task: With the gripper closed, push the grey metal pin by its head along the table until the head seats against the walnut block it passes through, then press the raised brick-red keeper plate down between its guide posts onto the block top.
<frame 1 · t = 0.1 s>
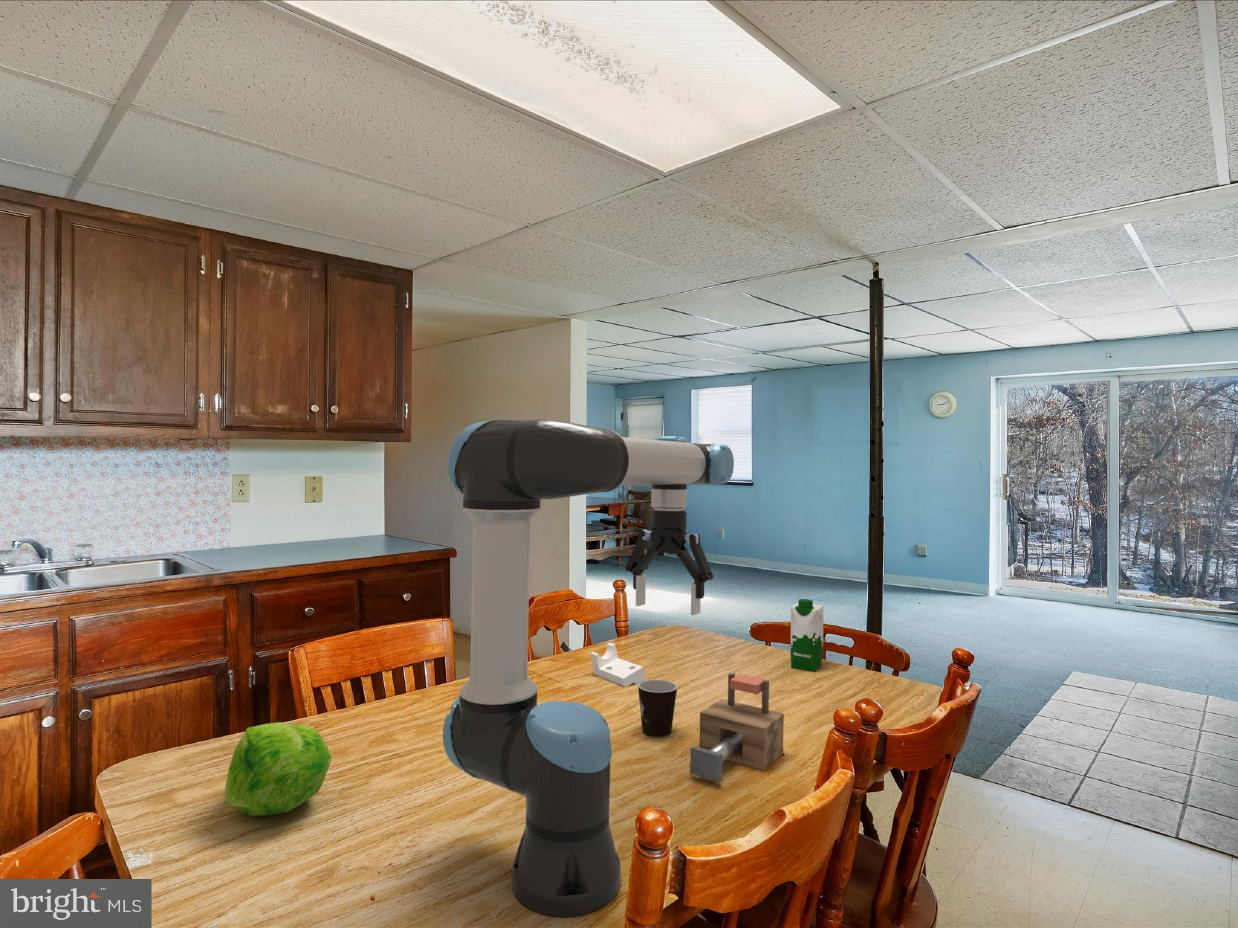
hand: (667, 609, 141), 28 cm above the table, fingers open, 13 cm apart
lettuce: (277, 806, 112), on the table
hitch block: (741, 751, 136), on the table
milk carton: (806, 667, 195), on the table
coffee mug: (657, 729, 147), on the table
bracket: (617, 679, 182), on the table
keeper: (748, 683, 138), point 13 cm above the table, slide at 4.0 cm
pin: (722, 750, 129), point 3 cm above the table, slide at 10.0 cm
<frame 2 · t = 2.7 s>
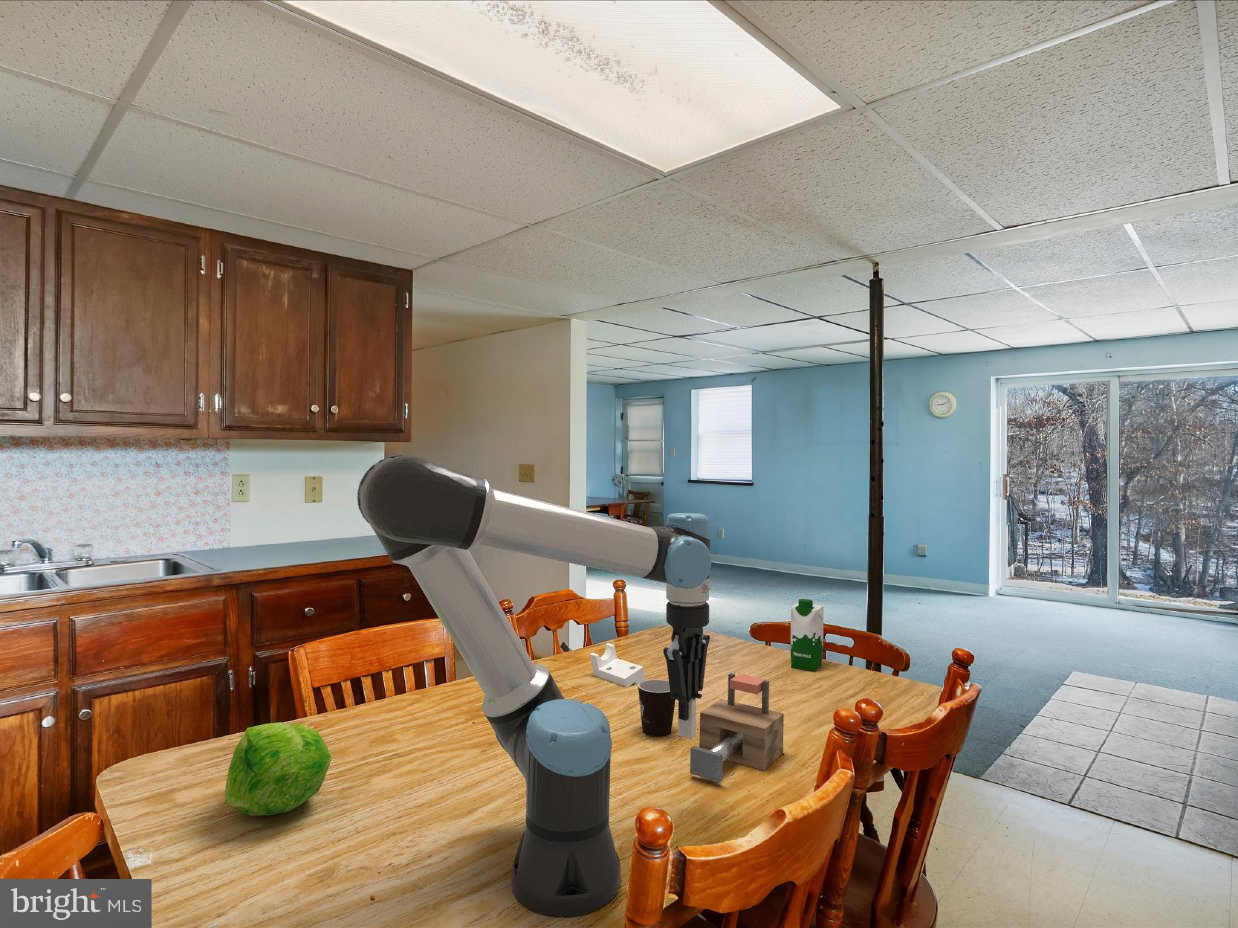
hand: (686, 735, 116), 11 cm above the table, fingers closed
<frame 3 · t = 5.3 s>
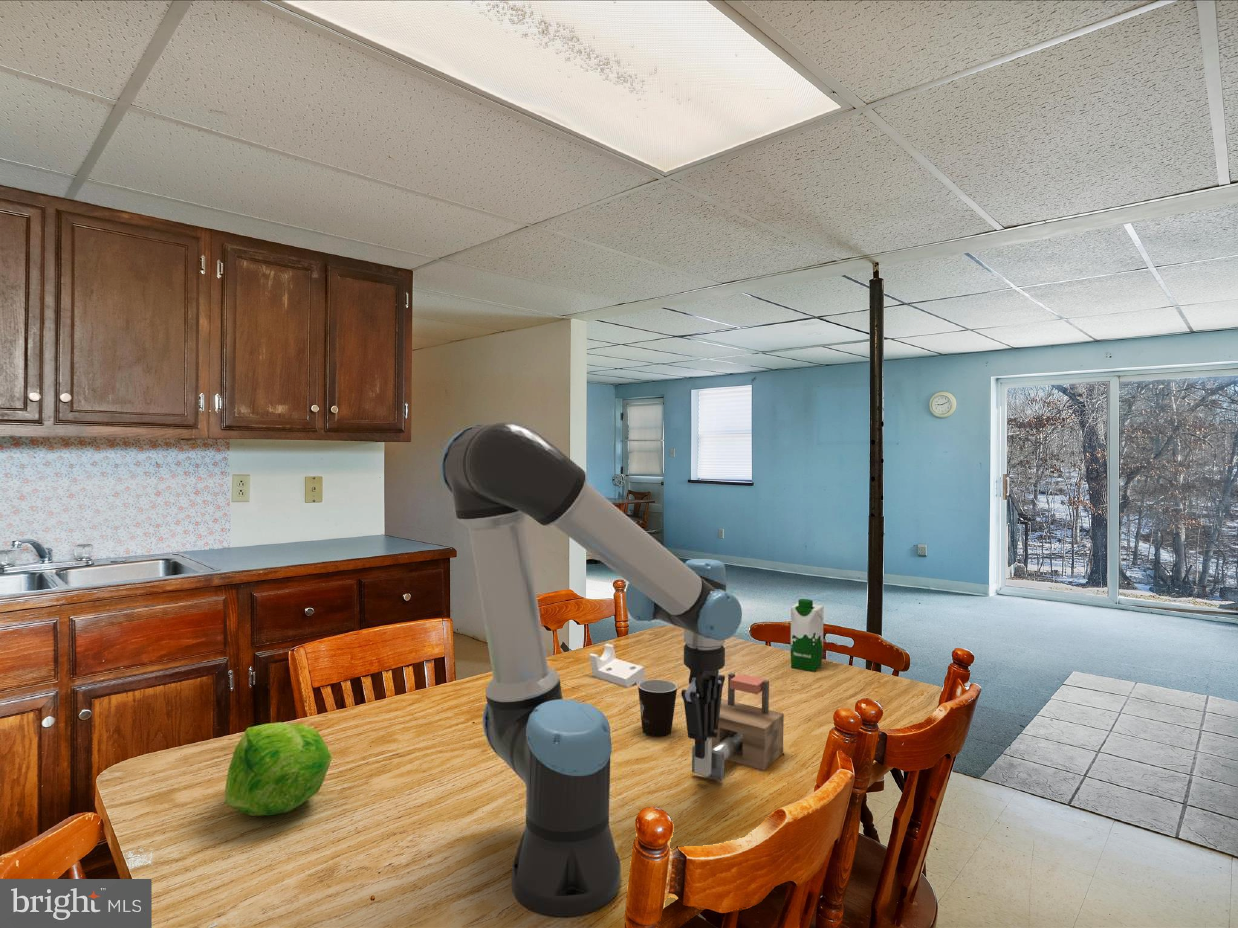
hand: (702, 772, 122), 2 cm above the table, fingers closed
pin: (724, 749, 129), point 3 cm above the table, slide at 9.3 cm, touching gripper
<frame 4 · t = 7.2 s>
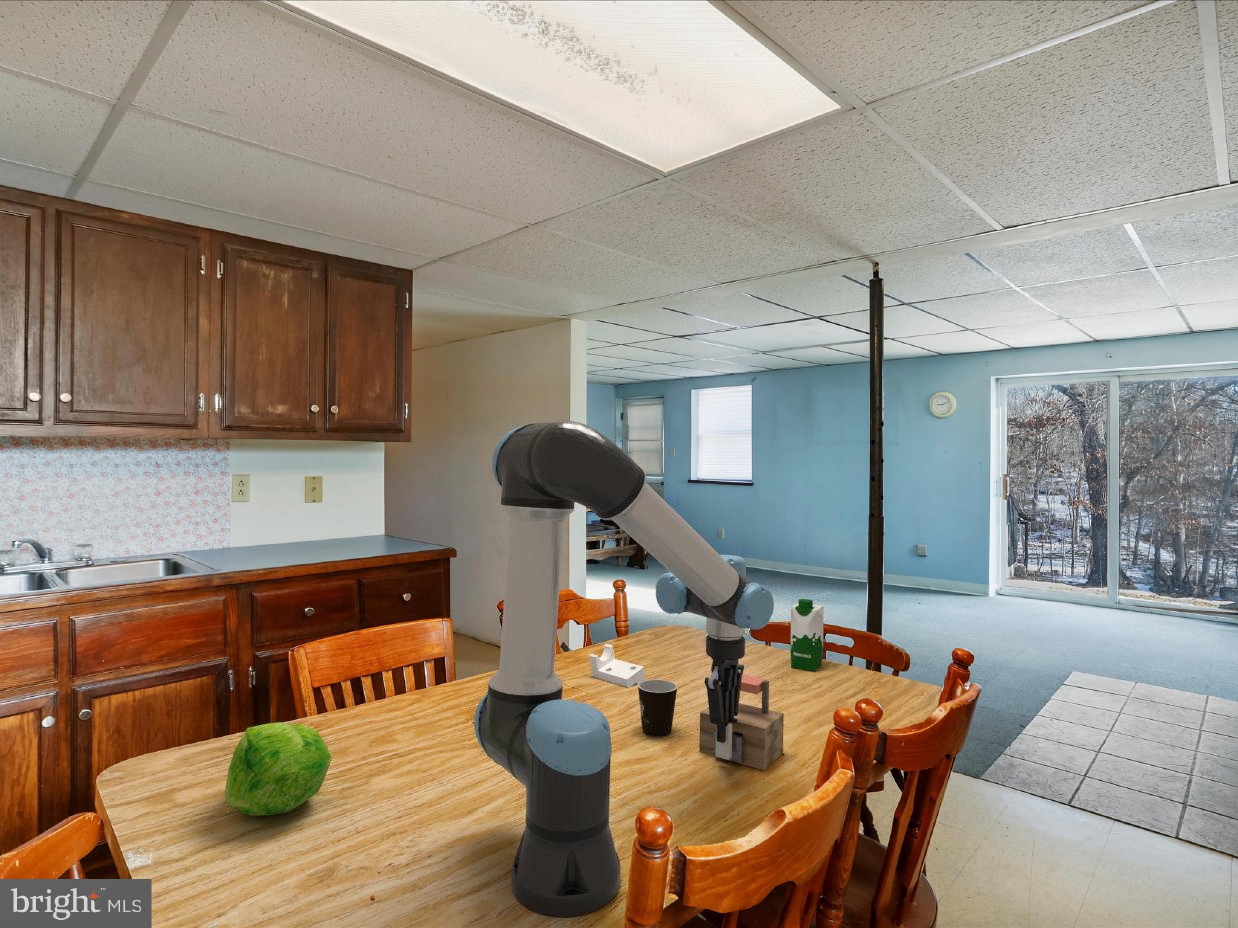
hand: (723, 756, 129), 2 cm above the table, fingers closed
pin: (743, 734, 137), point 3 cm above the table, slide at 0.3 cm, touching gripper
everything else where it was.
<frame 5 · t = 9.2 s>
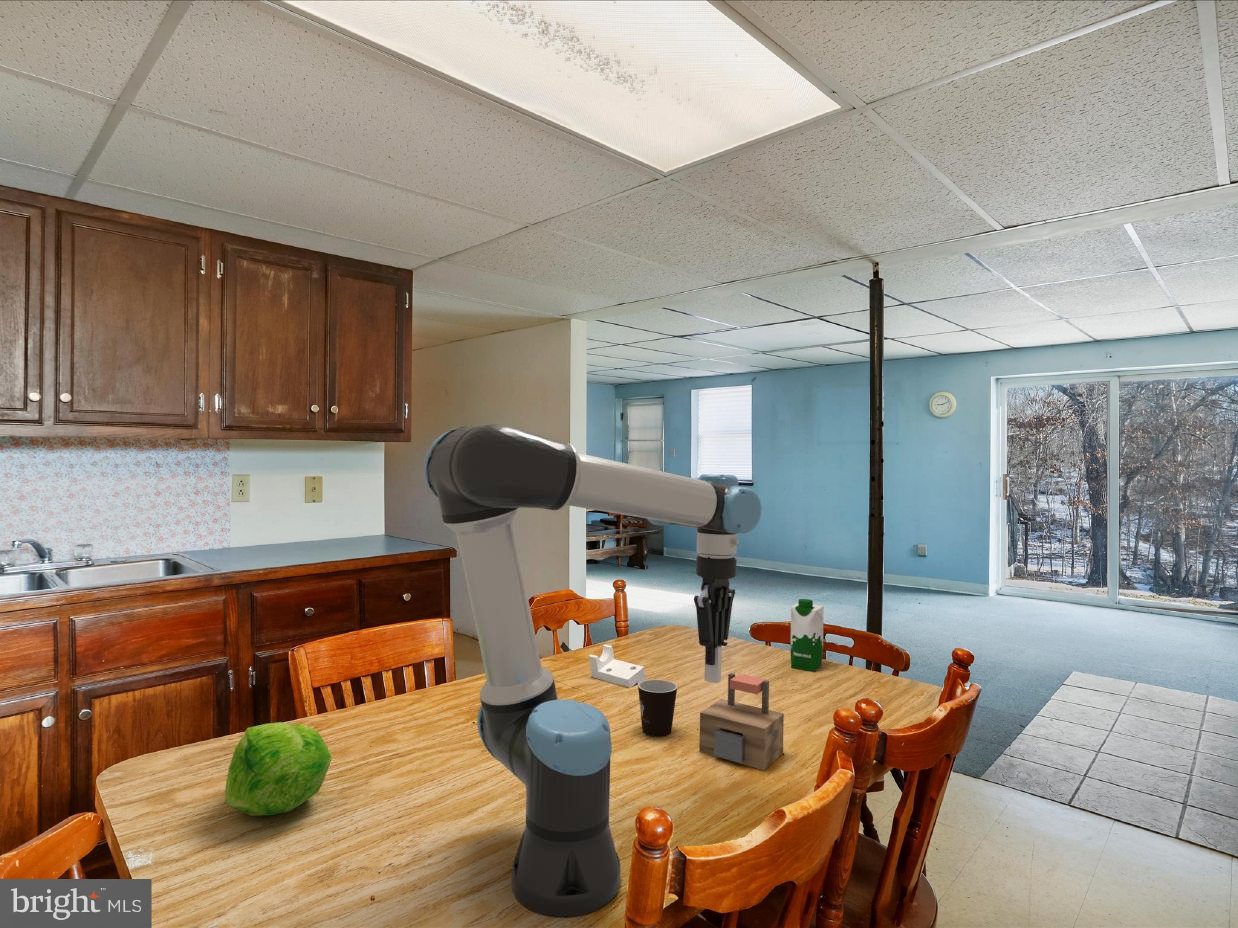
hand: (712, 680, 125), 18 cm above the table, fingers closed
pin: (743, 734, 137), point 3 cm above the table, slide at 0.1 cm
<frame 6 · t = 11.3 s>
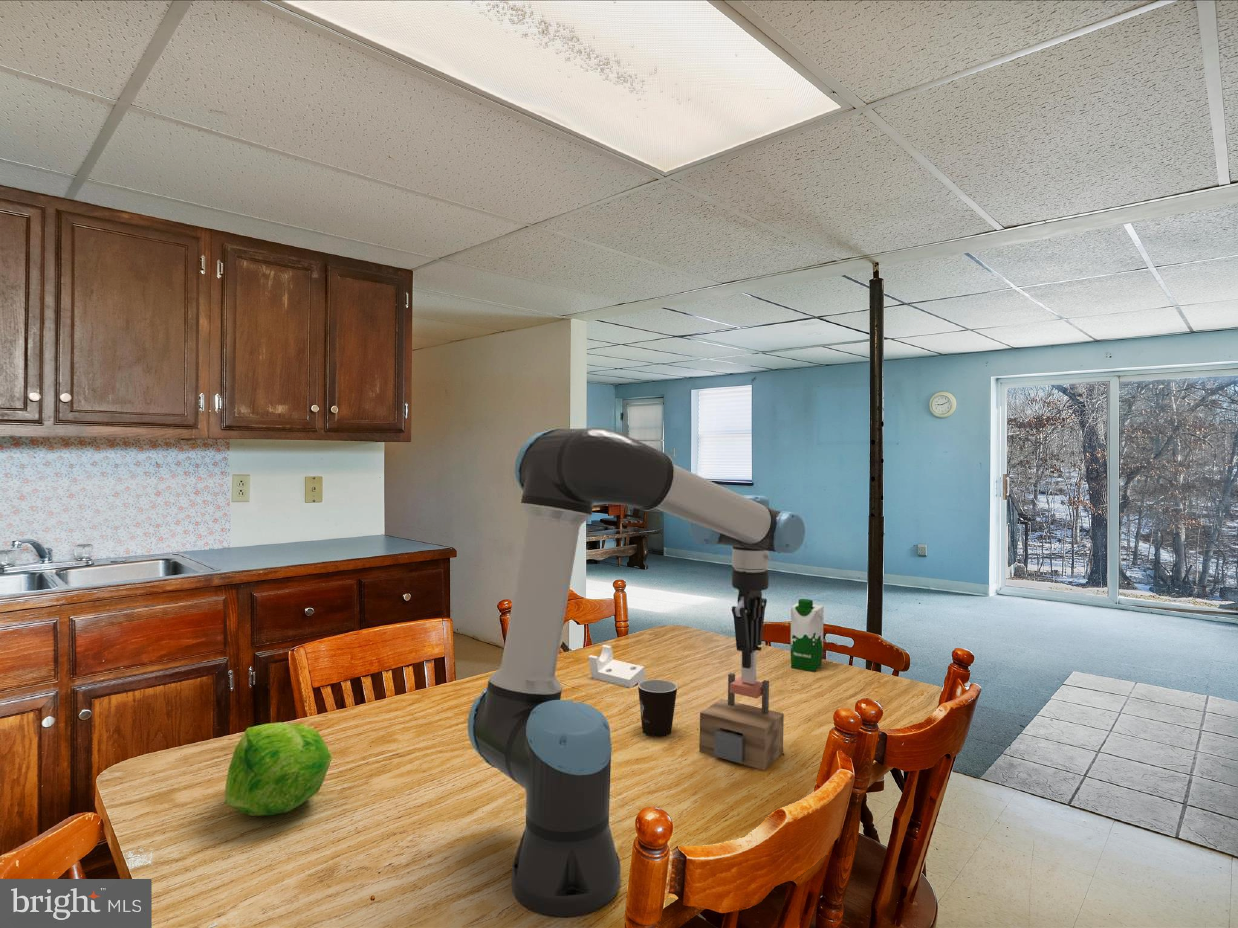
hand: (748, 681, 139), 14 cm above the table, fingers closed
keeper: (748, 687, 138), point 12 cm above the table, slide at 3.2 cm, touching gripper
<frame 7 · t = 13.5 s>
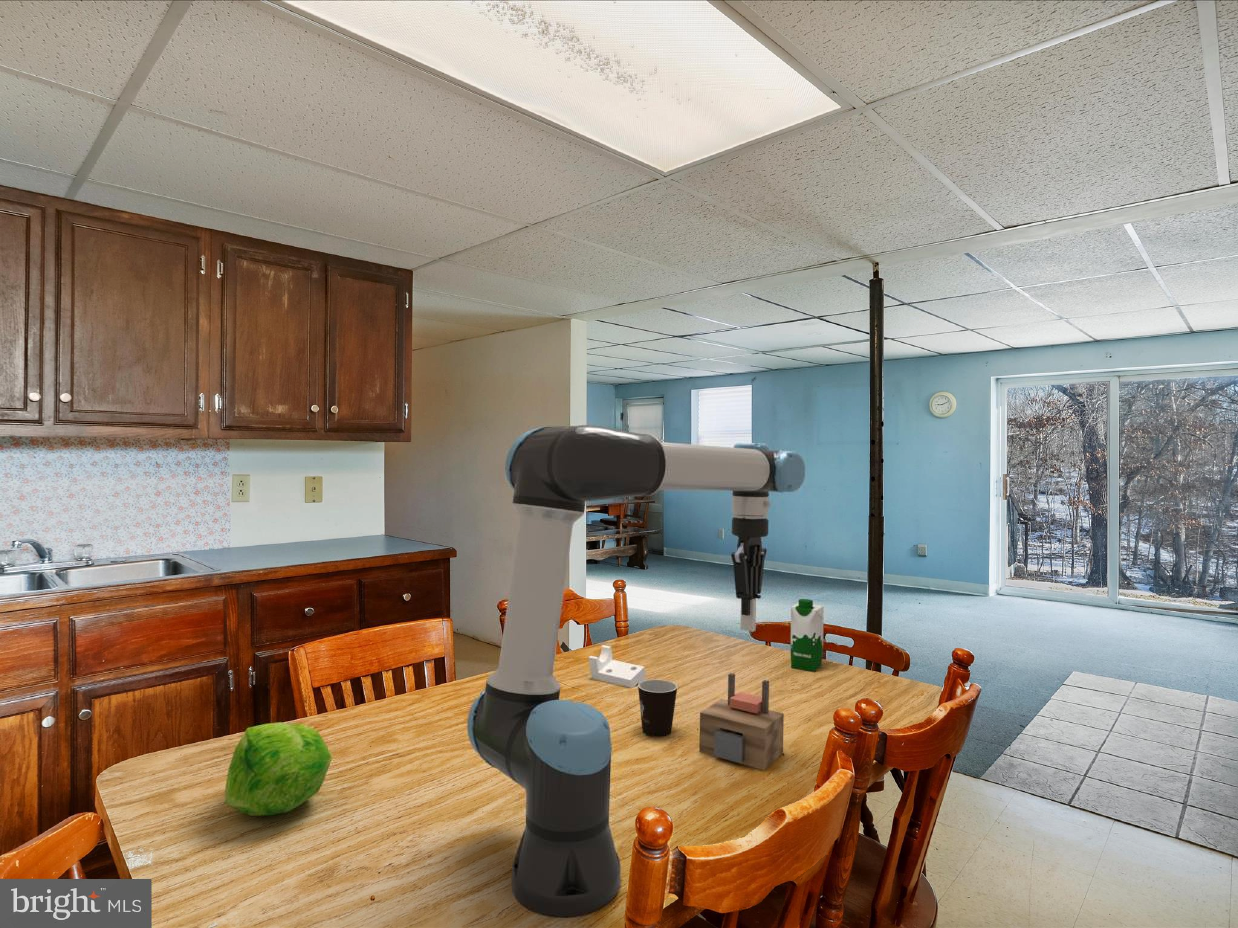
hand: (747, 629, 138), 24 cm above the table, fingers closed
keeper: (747, 702, 138), point 9 cm above the table, slide at 0.1 cm
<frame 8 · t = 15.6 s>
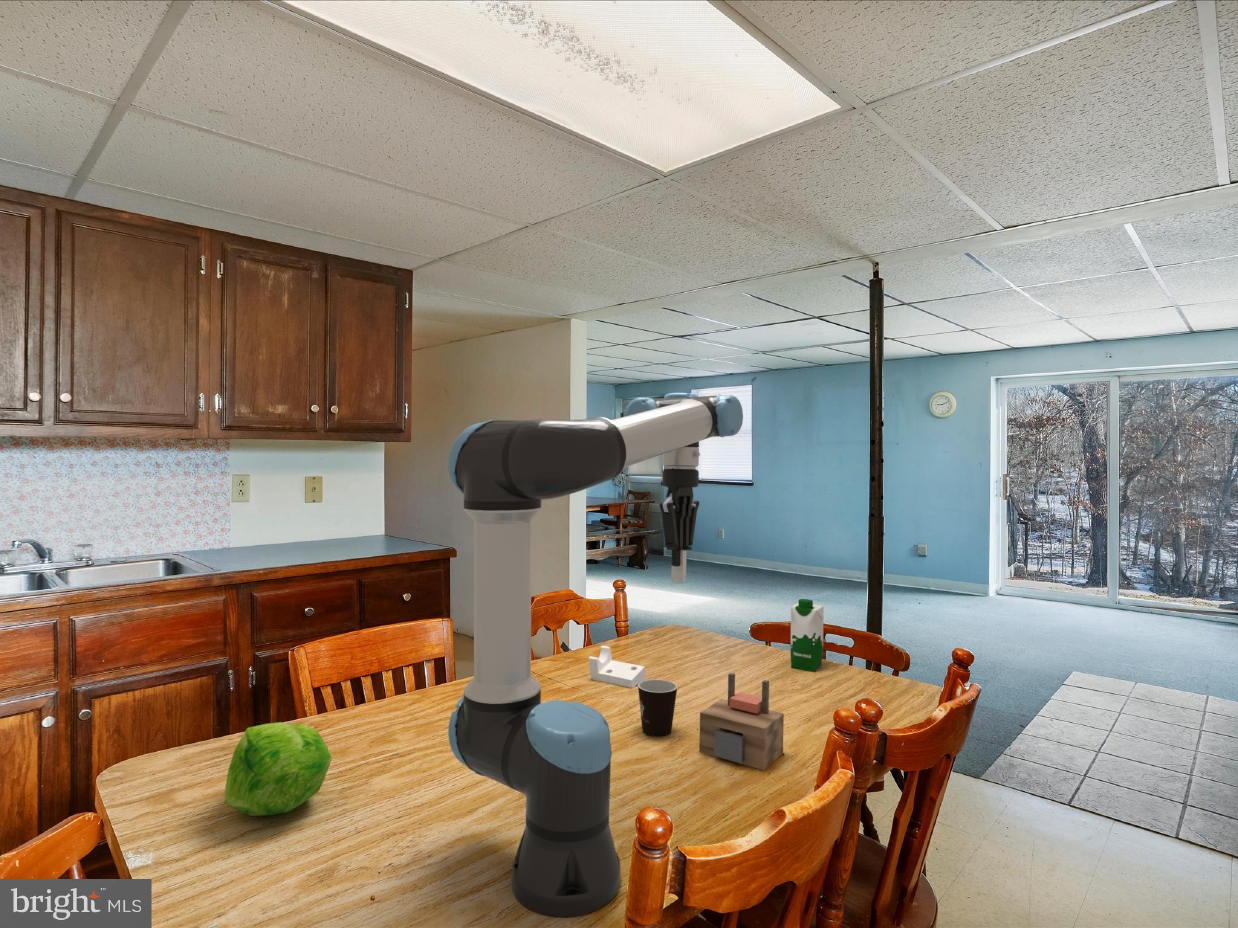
hand: (678, 581, 138), 34 cm above the table, fingers closed
at the end: pin slide at 0.1 cm; keeper slide at 0.1 cm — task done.
